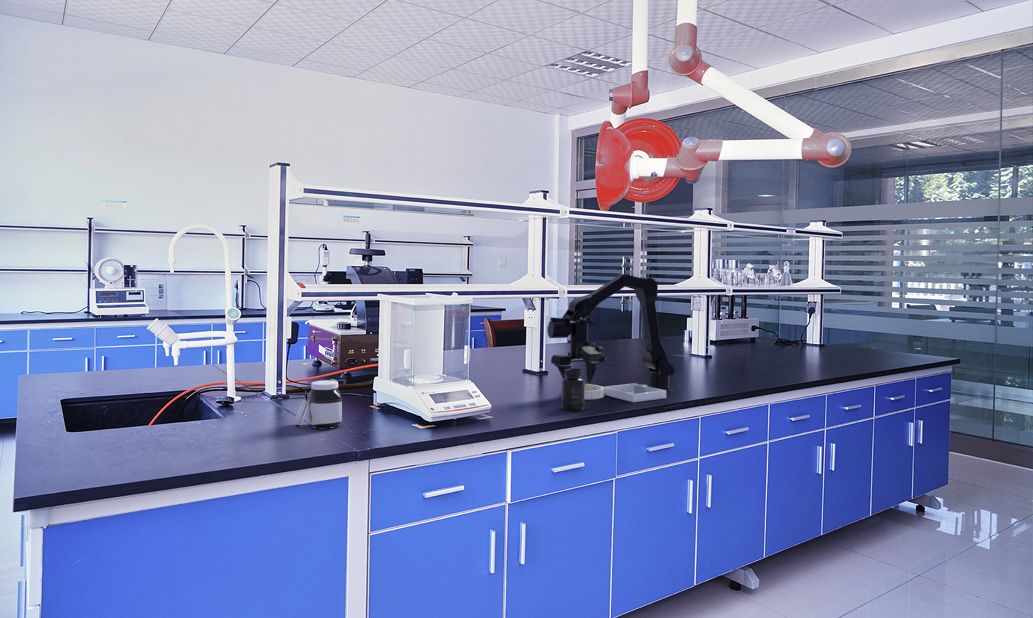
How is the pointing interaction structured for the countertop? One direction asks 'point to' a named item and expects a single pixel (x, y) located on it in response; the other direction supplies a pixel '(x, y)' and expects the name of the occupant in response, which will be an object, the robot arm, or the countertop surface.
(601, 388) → the bowl
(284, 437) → the countertop surface
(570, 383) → the supplement bottle
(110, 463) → the countertop surface
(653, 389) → the parts tray
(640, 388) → the grey cube
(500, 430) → the countertop surface
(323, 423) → the spread jar
